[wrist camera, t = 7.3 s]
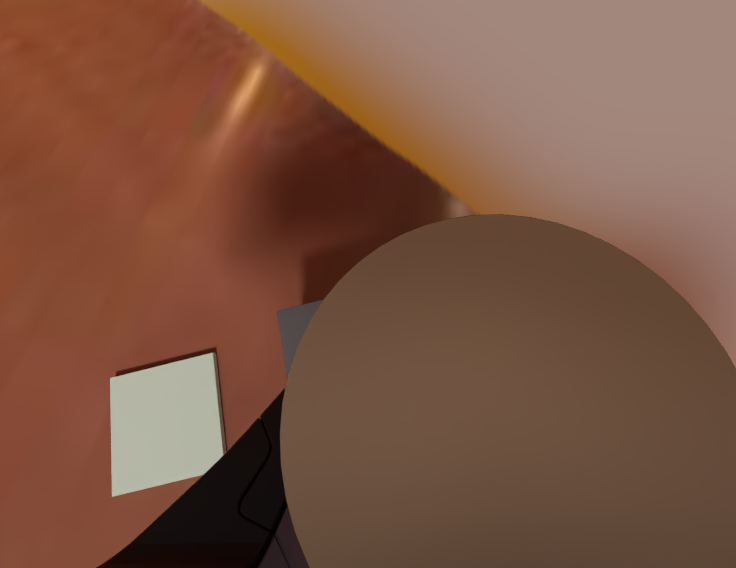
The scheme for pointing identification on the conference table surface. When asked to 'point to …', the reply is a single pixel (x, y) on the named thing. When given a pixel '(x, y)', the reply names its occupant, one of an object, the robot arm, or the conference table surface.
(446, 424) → the tan tall cylinder
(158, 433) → the pad
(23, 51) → the conference table surface
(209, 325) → the conference table surface
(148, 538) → the robot arm
